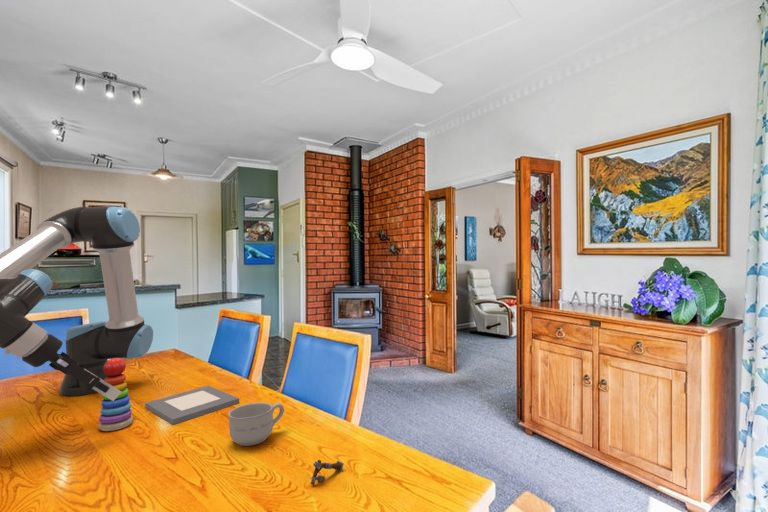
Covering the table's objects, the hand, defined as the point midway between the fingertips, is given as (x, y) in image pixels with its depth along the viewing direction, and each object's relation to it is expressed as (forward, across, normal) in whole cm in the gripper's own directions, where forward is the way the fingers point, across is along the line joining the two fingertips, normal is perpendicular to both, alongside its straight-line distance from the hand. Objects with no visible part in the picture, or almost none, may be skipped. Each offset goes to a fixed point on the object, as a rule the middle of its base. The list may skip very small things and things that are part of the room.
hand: (109, 390), depth 105 cm
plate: (+23, +1, +8) cm, 24 cm away
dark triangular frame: (+23, +64, +8) cm, 68 cm away
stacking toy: (+9, -1, -6) cm, 11 cm away
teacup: (+23, +37, +8) cm, 44 cm away
